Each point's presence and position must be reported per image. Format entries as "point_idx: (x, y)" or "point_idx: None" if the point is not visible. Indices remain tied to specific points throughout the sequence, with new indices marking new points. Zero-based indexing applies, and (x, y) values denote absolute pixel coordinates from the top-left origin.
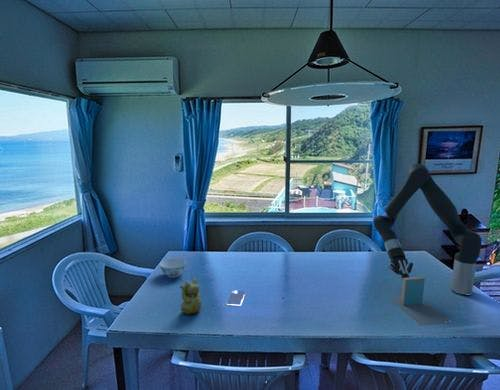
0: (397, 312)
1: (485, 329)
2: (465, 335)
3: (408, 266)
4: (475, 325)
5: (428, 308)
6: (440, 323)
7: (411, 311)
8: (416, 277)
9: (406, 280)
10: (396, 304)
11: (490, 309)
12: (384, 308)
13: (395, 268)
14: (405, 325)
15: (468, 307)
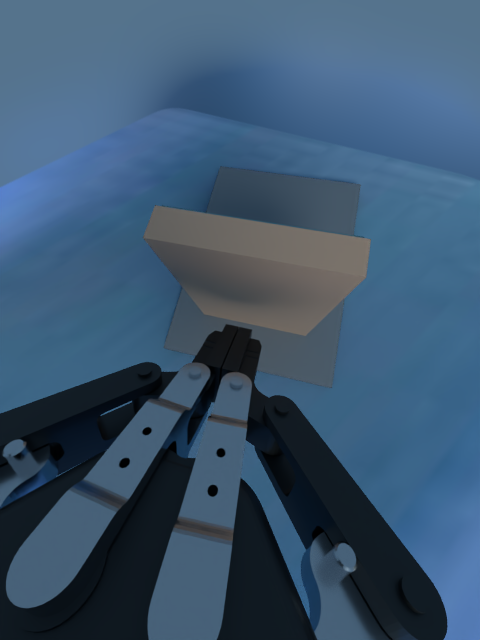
0: (370, 294)
1: (161, 129)
2: (252, 125)
3: (56, 457)
4: (165, 149)
5: None
6: (277, 174)
7: None
8: (215, 240)
9: (360, 239)
10: (335, 336)
11: (9, 194)
12: (408, 342)
13: (341, 477)
14: (409, 215)
15: (58, 226)
